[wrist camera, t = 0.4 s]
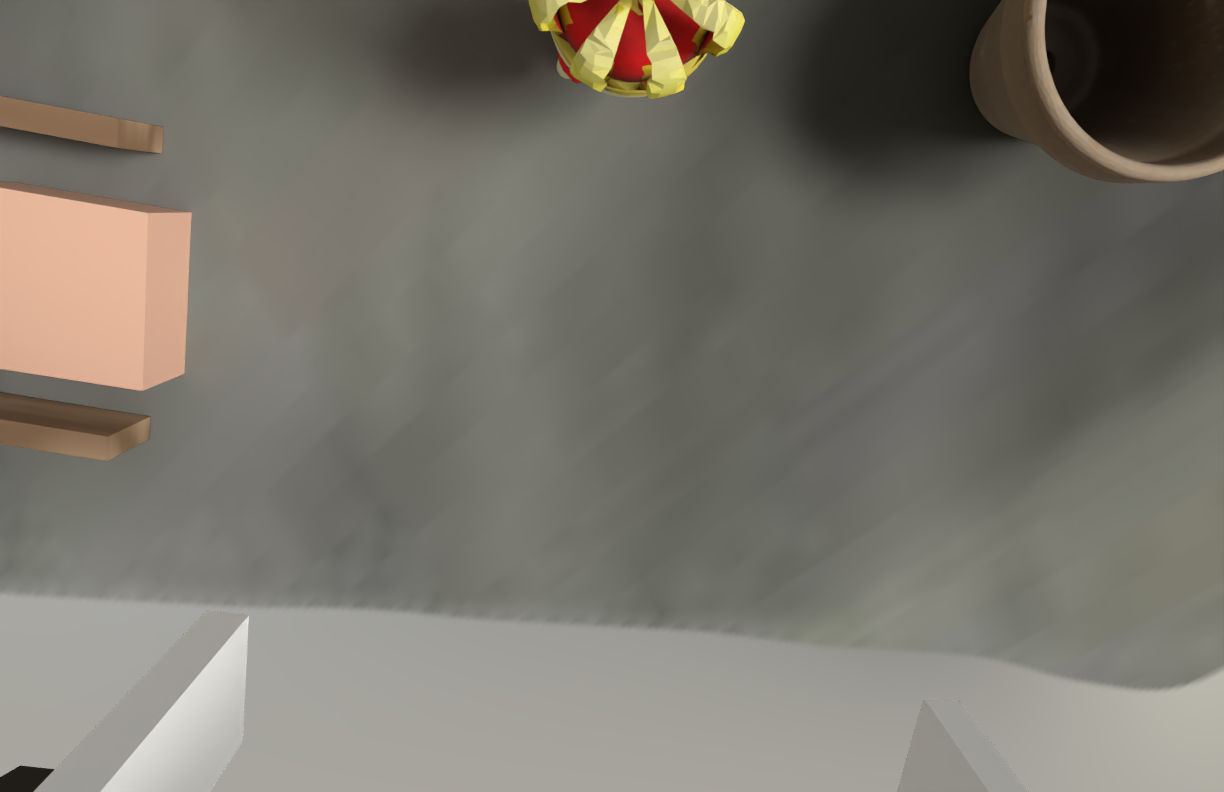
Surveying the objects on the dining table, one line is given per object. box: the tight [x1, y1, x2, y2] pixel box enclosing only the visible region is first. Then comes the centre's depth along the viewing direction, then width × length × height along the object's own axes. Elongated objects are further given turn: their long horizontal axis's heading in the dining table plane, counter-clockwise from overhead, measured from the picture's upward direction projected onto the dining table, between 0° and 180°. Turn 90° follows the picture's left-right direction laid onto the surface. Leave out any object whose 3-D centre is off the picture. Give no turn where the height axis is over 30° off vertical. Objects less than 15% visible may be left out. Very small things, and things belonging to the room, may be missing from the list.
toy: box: [529, 0, 745, 99], centre depth 28 cm, size 7×7×15 cm
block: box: [0, 182, 191, 391], centre depth 36 cm, size 8×8×4 cm
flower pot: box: [969, 0, 1224, 183], centre depth 31 cm, size 12×11×10 cm
